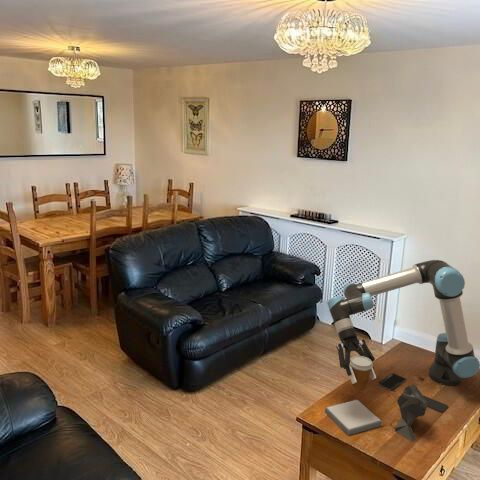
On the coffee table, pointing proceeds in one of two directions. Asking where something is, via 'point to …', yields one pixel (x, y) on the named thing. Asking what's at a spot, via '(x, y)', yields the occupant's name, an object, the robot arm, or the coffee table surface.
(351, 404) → the plate
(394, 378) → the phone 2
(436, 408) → the phone
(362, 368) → the disposable coffee cup
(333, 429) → the coffee table surface
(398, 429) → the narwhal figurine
